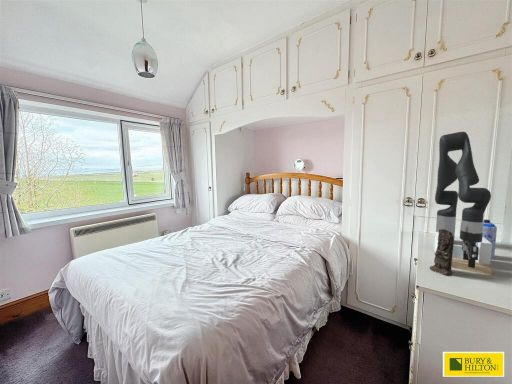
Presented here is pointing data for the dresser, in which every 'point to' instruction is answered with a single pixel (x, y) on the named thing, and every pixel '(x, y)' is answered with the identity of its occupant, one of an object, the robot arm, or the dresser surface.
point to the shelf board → (463, 265)
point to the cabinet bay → (483, 252)
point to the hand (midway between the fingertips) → (468, 263)
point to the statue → (444, 253)
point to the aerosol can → (489, 235)
